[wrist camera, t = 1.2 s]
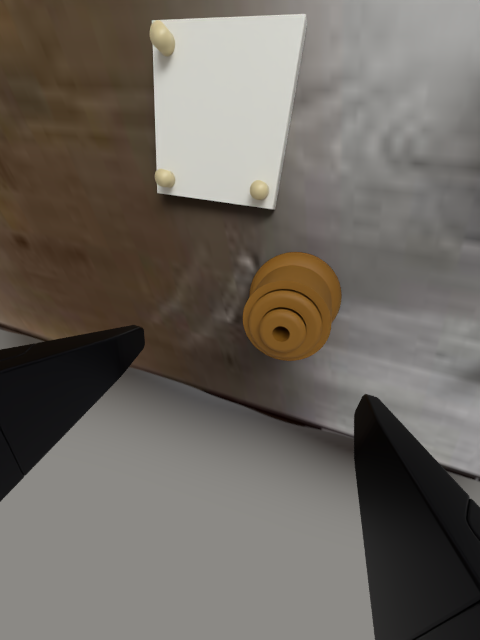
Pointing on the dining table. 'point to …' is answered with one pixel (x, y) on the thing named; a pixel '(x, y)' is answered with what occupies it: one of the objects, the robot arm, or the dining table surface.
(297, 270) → the ornamental finial
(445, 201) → the dining table surface
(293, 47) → the base plate
